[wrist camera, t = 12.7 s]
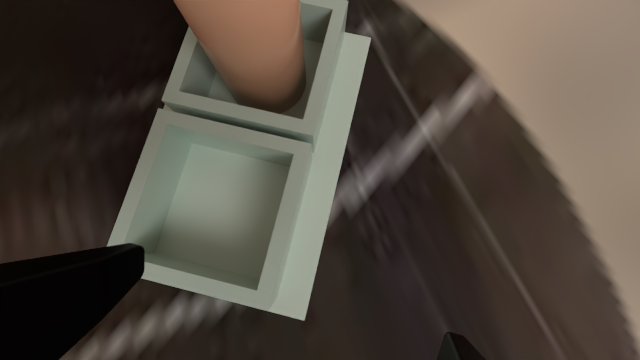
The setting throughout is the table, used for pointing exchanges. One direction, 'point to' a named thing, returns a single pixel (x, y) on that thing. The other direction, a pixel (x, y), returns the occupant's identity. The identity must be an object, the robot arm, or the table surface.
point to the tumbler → (252, 48)
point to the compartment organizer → (245, 174)
